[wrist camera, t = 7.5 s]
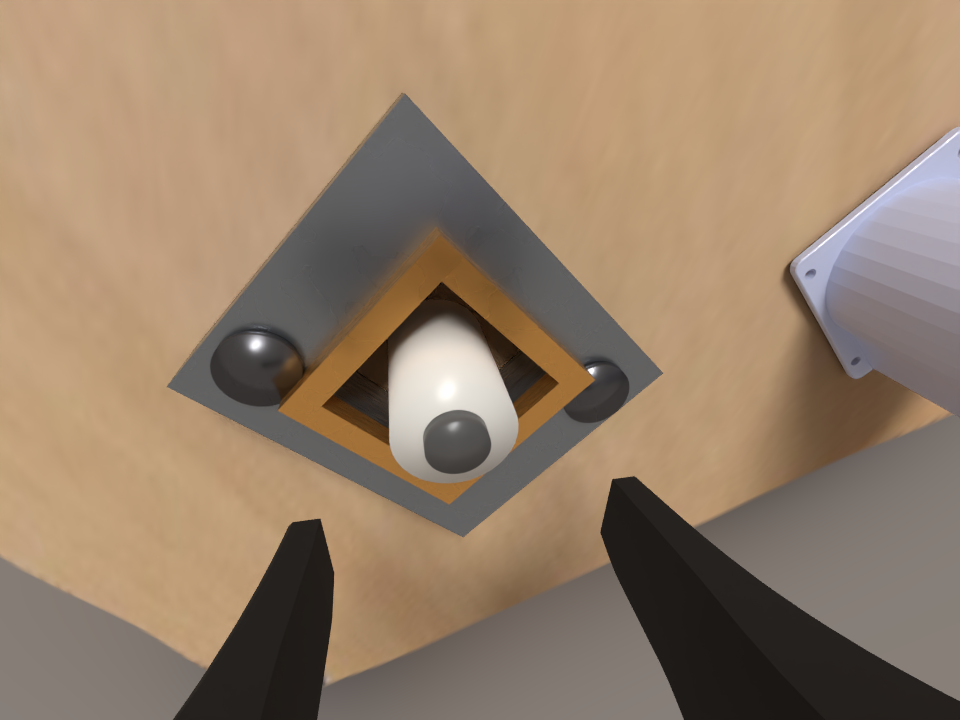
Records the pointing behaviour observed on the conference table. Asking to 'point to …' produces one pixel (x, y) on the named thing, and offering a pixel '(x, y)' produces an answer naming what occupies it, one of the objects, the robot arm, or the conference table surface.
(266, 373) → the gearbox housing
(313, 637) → the robot arm
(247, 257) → the conference table surface
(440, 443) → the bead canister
